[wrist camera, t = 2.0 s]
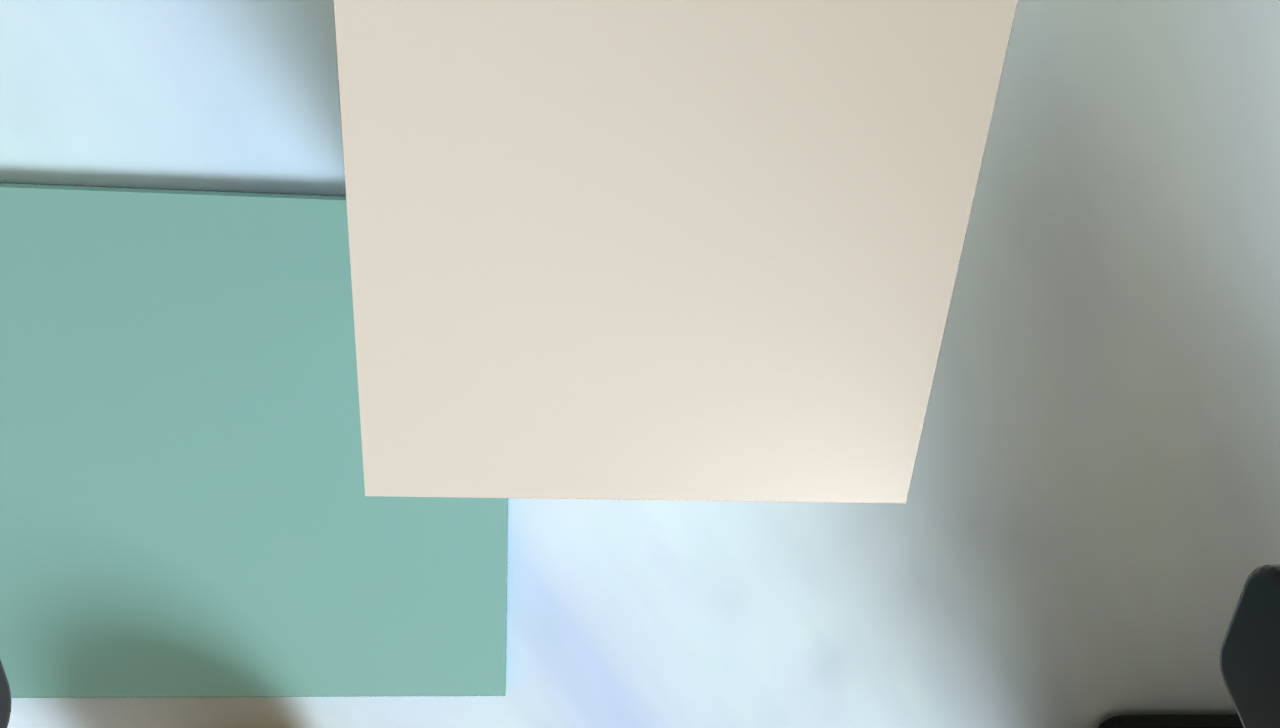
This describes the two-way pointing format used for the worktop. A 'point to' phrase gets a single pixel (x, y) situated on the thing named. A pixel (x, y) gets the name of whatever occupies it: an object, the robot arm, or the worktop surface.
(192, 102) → the worktop surface
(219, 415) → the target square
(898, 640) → the worktop surface
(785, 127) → the plain beige box
